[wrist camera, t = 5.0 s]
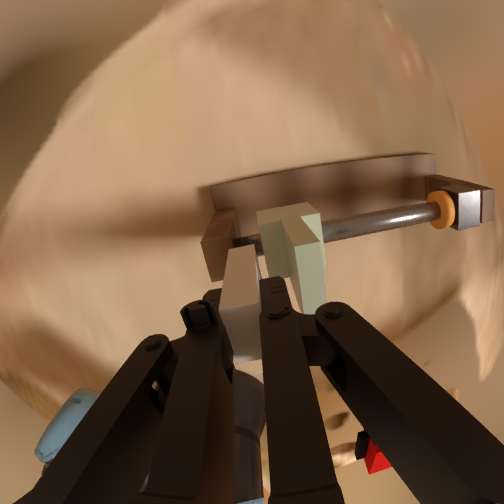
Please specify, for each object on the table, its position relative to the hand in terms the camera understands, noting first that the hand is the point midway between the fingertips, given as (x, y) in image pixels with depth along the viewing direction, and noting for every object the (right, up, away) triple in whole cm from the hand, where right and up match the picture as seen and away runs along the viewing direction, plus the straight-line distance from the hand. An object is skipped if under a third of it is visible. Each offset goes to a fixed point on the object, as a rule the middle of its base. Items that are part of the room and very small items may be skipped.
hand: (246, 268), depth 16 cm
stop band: (+16, +5, +4) cm, 18 cm away
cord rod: (+10, +4, +5) cm, 12 cm away
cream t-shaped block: (+3, +3, +5) cm, 7 cm away
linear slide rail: (+10, +7, +13) cm, 17 cm away
